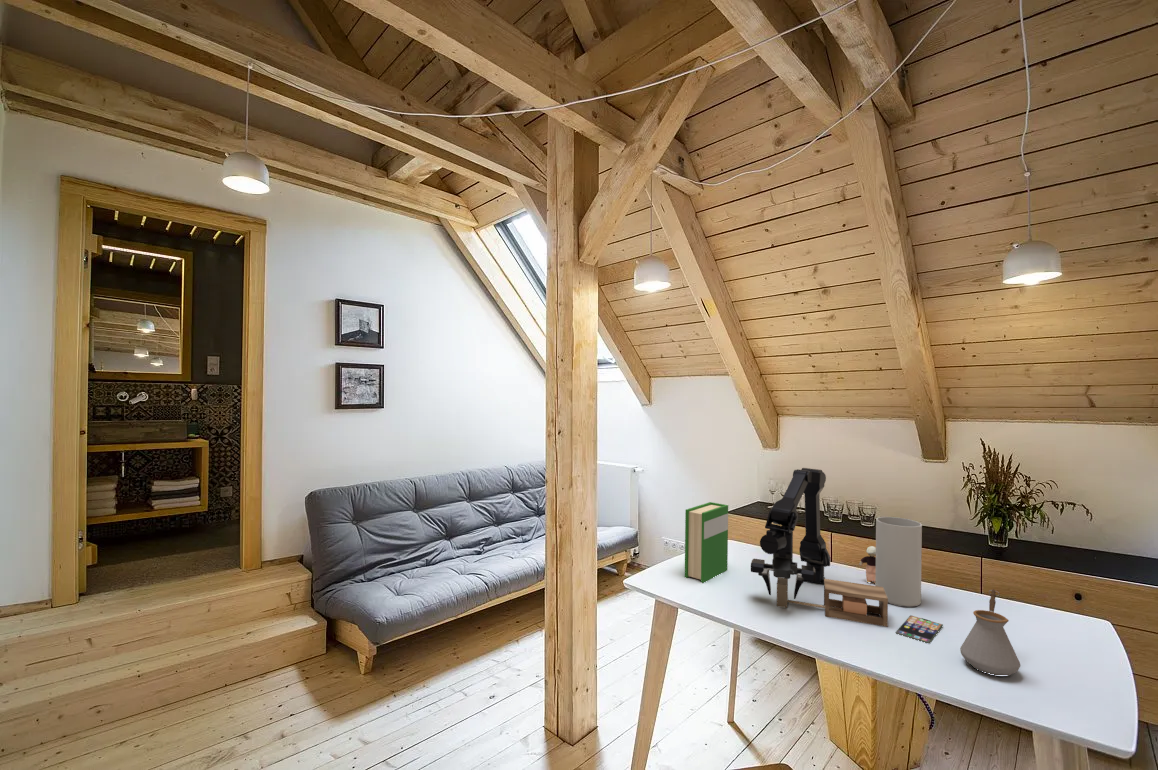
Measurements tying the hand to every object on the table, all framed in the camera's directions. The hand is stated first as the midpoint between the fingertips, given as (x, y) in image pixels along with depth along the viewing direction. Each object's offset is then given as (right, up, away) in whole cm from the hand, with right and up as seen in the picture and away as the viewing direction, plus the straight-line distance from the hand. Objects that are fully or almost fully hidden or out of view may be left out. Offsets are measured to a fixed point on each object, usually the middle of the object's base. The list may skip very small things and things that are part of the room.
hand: (782, 596), depth 163 cm
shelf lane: (+18, -2, -8) cm, 20 cm away
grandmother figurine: (+38, -3, +18) cm, 43 cm away
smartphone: (+32, -3, -17) cm, 36 cm away
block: (+10, -2, -4) cm, 11 cm away
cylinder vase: (+39, -3, +4) cm, 39 cm away
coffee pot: (+39, -3, -33) cm, 51 cm away
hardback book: (-18, -2, +25) cm, 31 cm away
